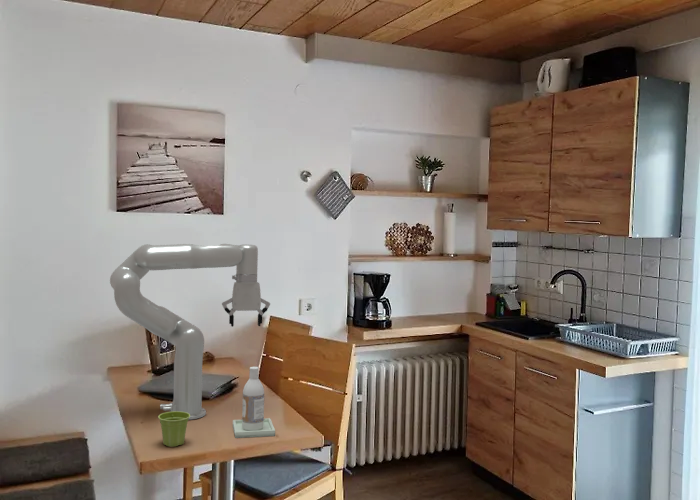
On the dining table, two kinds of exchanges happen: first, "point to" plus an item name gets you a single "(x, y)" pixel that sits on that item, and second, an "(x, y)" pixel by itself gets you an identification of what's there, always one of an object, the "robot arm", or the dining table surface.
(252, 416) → the bath foam
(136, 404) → the dining table surface
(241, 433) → the tray
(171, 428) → the plant pot
